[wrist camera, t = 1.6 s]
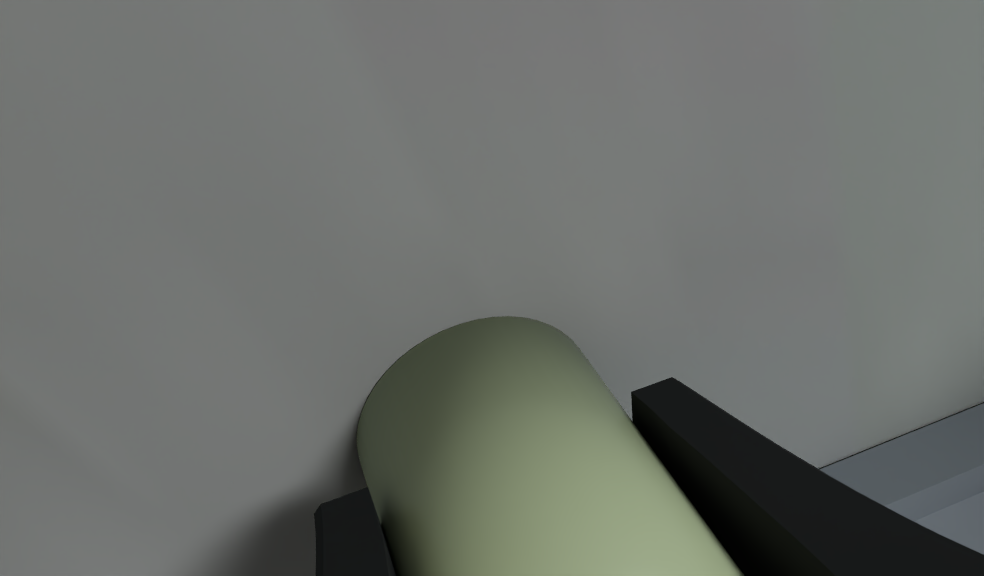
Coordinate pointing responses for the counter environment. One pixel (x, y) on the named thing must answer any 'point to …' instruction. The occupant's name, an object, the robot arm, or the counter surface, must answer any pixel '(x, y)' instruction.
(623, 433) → the peg
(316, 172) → the counter surface
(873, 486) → the housing
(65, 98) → the counter surface
